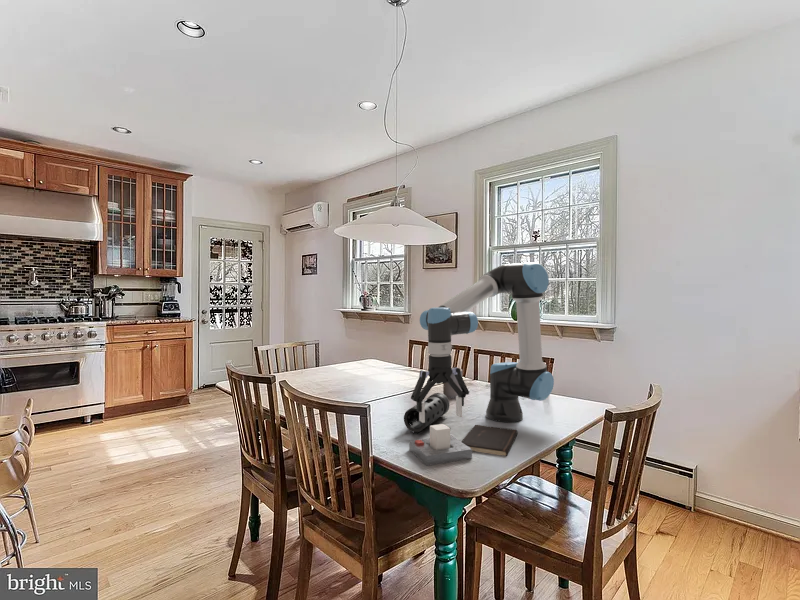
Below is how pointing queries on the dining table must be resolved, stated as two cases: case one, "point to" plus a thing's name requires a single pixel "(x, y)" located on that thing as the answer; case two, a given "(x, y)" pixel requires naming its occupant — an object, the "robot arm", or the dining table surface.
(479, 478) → the dining table surface
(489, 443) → the hardcover book
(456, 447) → the socket plate
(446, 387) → the pillar candle
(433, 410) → the muzzle brake
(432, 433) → the plug
